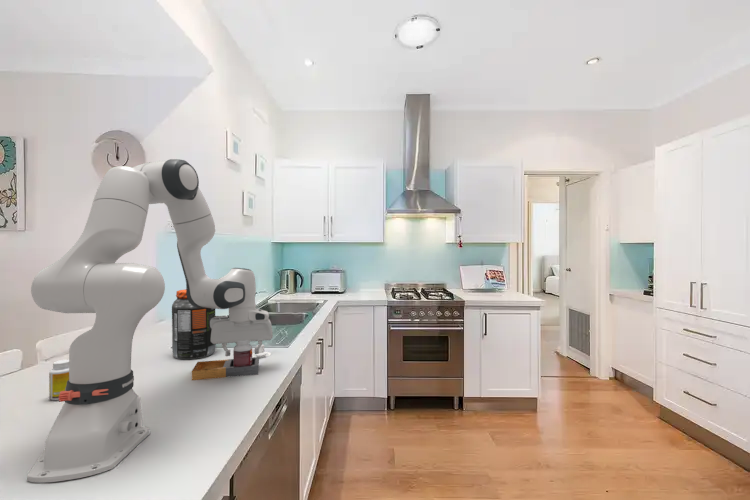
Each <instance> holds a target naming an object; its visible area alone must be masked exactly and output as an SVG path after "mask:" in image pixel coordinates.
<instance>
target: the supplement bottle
mask: <svg viewBox="0 0 750 500" xmlns="http://www.w3.org/2000/svg"><path fill="white" fill-rule="evenodd" d="M48 374H49V376H48V377H49V378H48V382H49V385H48V386H49V389H48V391H49V393H48V394H49V399H50V400H51V401H60V400H59V397H60V396H59V395H60V392H61V391H65V388H66V385H67V381H68V380H69V359H59V360H56V361H54V362H53V363H52V369H50V370H49V373H48Z"/></svg>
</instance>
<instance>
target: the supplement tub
mask: <svg viewBox="0 0 750 500" xmlns="http://www.w3.org/2000/svg"><path fill="white" fill-rule="evenodd" d="M175 296H176V299H175V300H174V301H173V302H172V305H171V328H172V329H171V334H172V335H171V338H172V339H171V341H172V344H171V345H172V348H171V349H172V350H171V351H172V356H173V357H174V358H175V359H179V360H194V359H200V358H206V357H208V356H210V355H212V354H214V352H216V349H217V348H216V347H217V344H213V343H212V342H211V331H212V329H211V328H210V320H211V319H212V318H213V317H215V316H216V309H213V308H197V307H194V306H192V305H191V304H190V303H189V301H188V299H187V295H186V289H180V290H177V291H176V295H175ZM214 319H215V318H214Z"/></svg>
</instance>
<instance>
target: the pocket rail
mask: <svg viewBox="0 0 750 500" xmlns="http://www.w3.org/2000/svg"><path fill="white" fill-rule="evenodd" d="M259 369H260V358H259V357H256V356H255V357H252V365H247V366H235V367H233V358H229V359H218V360H216V359H215V360H202V361H197V362H196V364H195V365H194V367H193V368H192V370H191V381H200V380H211V379H222V378H234V377H235V378H236V377H246V376H257V375H259Z"/></svg>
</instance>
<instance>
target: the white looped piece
mask: <svg viewBox="0 0 750 500" xmlns="http://www.w3.org/2000/svg"><path fill="white" fill-rule="evenodd" d="M258 345H259V344H257V345H256V346H255V348H257V347H258ZM271 355H272V353H271V352H269V351H265V344H262V345H261V347H260V349H259V354H255V352H252V358H254V357H259V359H261V358H266V357H269V356H271Z"/></svg>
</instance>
